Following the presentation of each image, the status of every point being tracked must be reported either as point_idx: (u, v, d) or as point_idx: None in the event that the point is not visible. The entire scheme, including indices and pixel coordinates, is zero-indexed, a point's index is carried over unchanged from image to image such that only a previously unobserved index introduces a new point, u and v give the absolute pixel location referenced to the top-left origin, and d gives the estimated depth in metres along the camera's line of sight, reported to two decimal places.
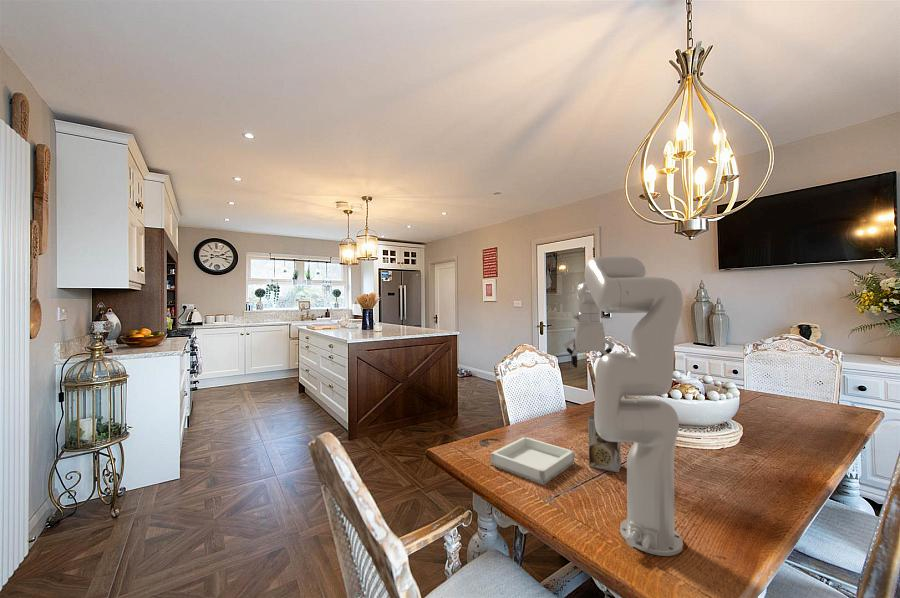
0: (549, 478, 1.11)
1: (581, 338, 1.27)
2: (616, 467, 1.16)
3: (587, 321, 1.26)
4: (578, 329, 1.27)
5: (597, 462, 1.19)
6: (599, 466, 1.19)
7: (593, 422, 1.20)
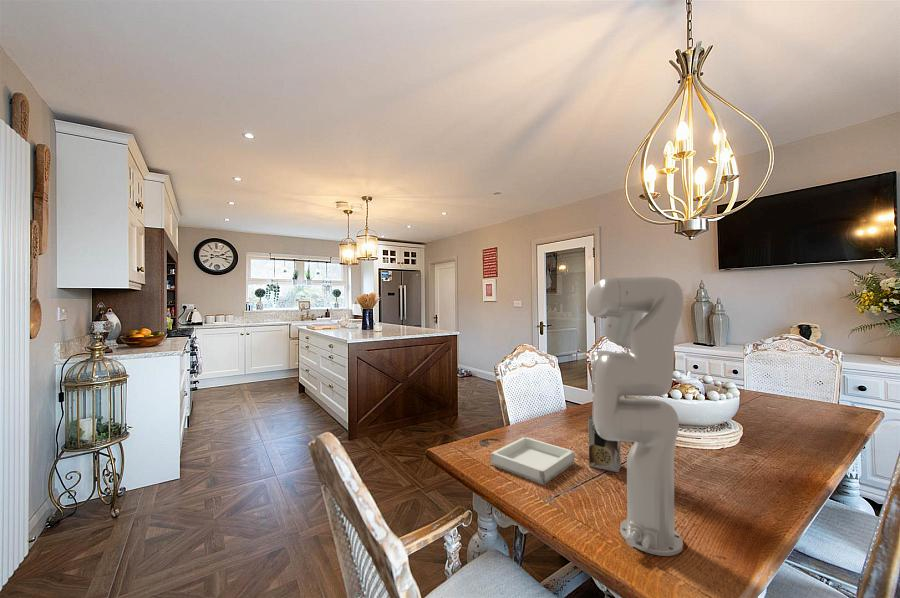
0: (549, 478, 1.11)
1: None
2: (616, 467, 1.16)
3: None
4: None
5: (597, 462, 1.19)
6: (599, 466, 1.19)
7: None
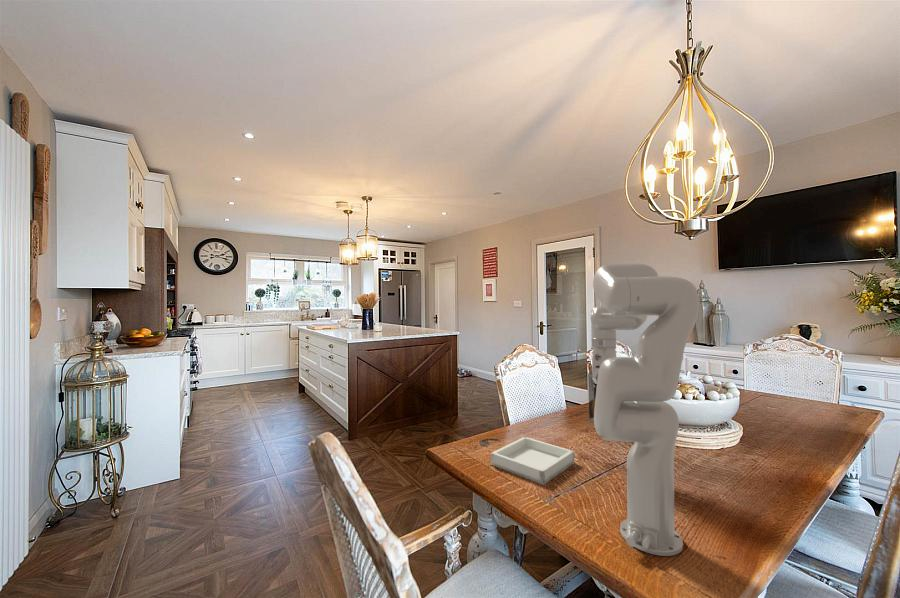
0: (549, 478, 1.11)
1: None
2: None
3: (612, 347, 1.18)
4: (606, 357, 1.16)
5: None
6: None
7: None
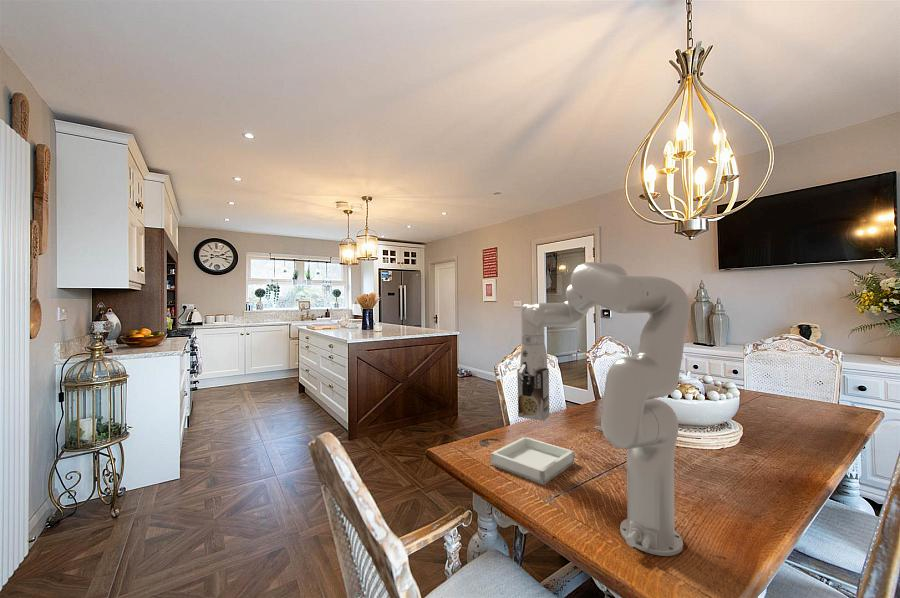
0: (549, 478, 1.11)
1: (534, 362, 1.18)
2: (542, 416, 1.18)
3: (540, 344, 1.19)
4: (532, 353, 1.18)
5: (525, 412, 1.21)
6: (527, 416, 1.21)
7: None
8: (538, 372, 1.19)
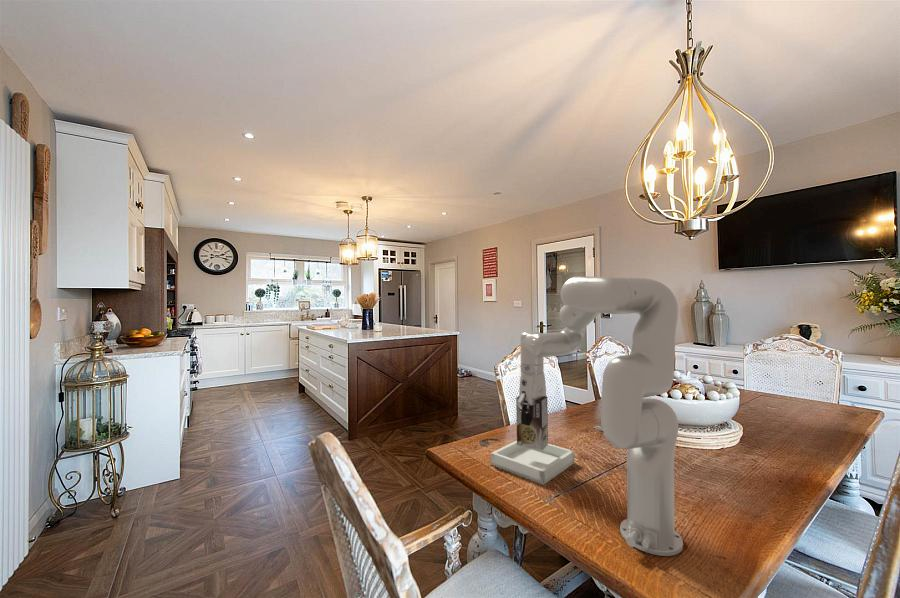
0: (549, 478, 1.11)
1: (533, 392, 1.18)
2: (540, 445, 1.18)
3: (539, 373, 1.19)
4: (531, 382, 1.18)
5: (523, 440, 1.21)
6: (525, 445, 1.21)
7: None
8: (537, 401, 1.19)
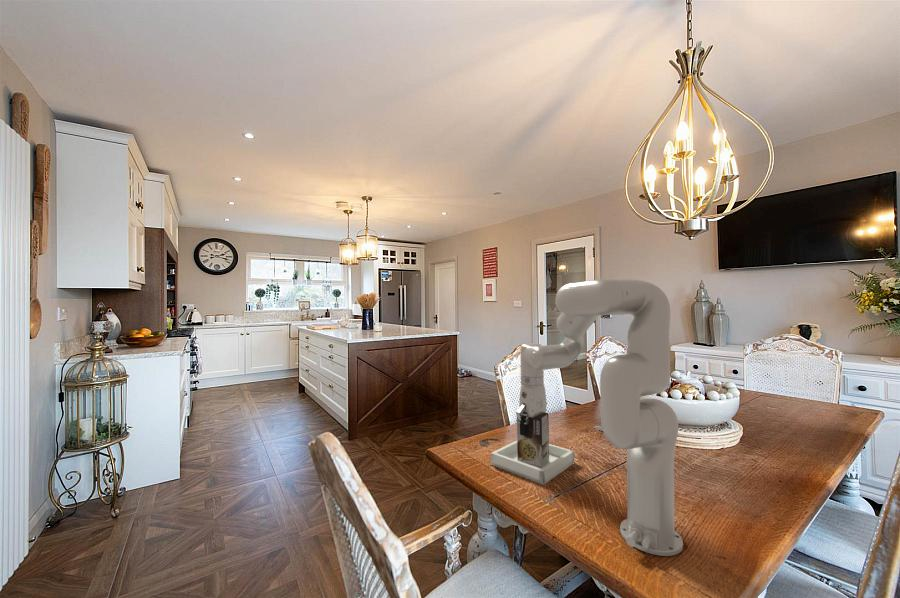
0: (549, 478, 1.11)
1: (533, 404, 1.18)
2: (541, 462, 1.18)
3: (539, 385, 1.19)
4: (531, 395, 1.18)
5: (524, 457, 1.21)
6: (526, 461, 1.20)
7: None
8: (537, 418, 1.18)
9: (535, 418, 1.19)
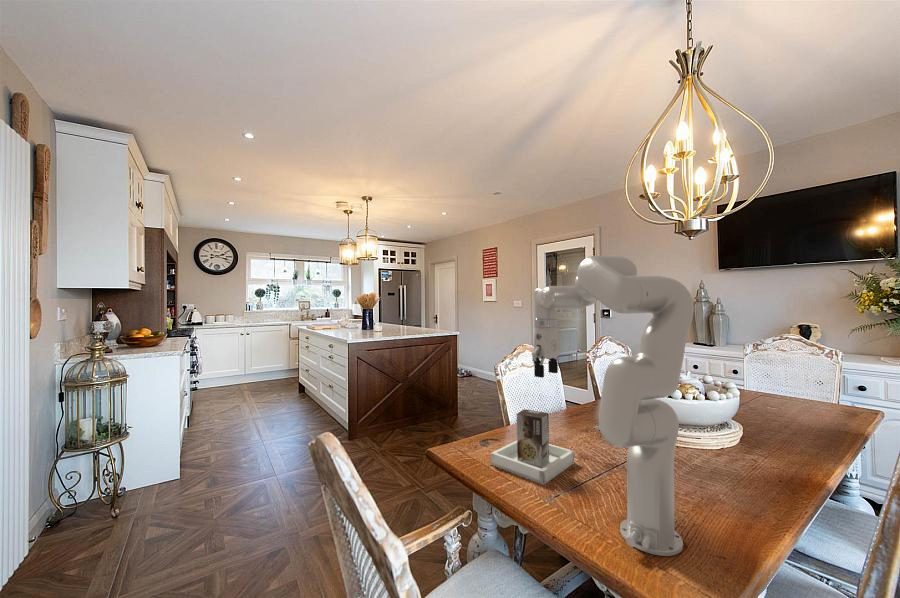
0: (549, 478, 1.11)
1: (548, 345, 1.20)
2: (541, 462, 1.18)
3: (553, 327, 1.21)
4: (546, 336, 1.19)
5: (524, 457, 1.21)
6: (526, 461, 1.20)
7: (521, 418, 1.22)
8: (537, 418, 1.18)
9: (535, 418, 1.19)
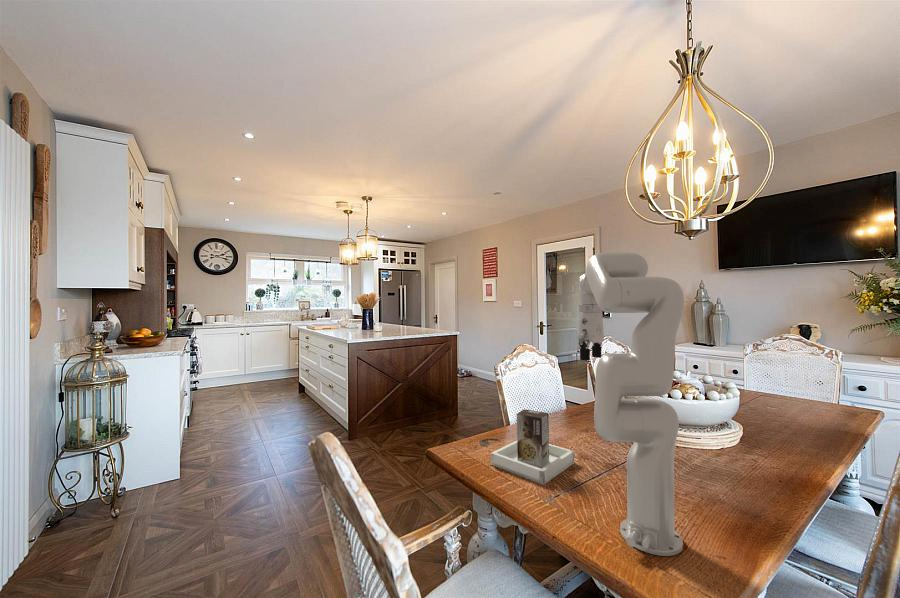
0: (549, 478, 1.11)
1: (594, 330, 1.24)
2: (541, 462, 1.18)
3: (598, 312, 1.25)
4: (592, 321, 1.24)
5: (524, 457, 1.21)
6: (526, 461, 1.20)
7: (521, 418, 1.22)
8: (537, 418, 1.18)
9: (535, 418, 1.19)
